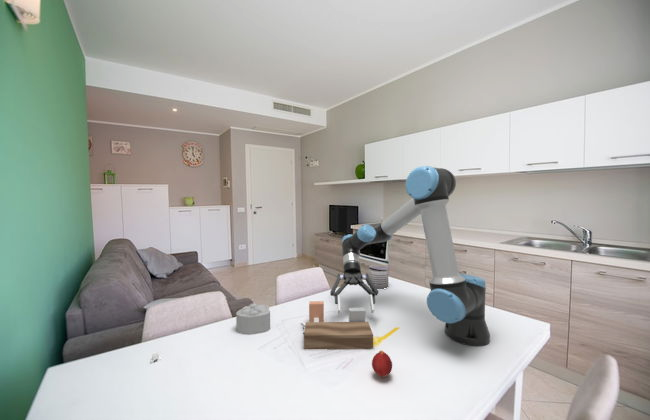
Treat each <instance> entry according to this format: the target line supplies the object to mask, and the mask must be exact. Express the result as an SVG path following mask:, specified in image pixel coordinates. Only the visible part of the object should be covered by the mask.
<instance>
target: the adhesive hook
mask: <svg viewBox="0 0 650 420" xmlns="http://www.w3.org/2000/svg"><path fill="white" fill-rule="evenodd" d="M160 353H161V351H158V352H155V353H153V354H151V358H150V360H149V362H150V363H151V364H154V361H157V363H158V362H160V361H161V359H162V357H161V356H160Z"/></svg>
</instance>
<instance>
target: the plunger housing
mask: <svg viewBox="0 0 650 420" xmlns="http://www.w3.org/2000/svg"><path fill="white" fill-rule="evenodd" d="M304 349H327V350H374V333H373V331H372V329H371V325H370V323H369V321H365V322H349V321H324V322H309V321H306V322H305V324H304V333H303V350H304Z"/></svg>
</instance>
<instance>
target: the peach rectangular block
mask: <svg viewBox="0 0 650 420" xmlns="http://www.w3.org/2000/svg"><path fill="white" fill-rule="evenodd" d="M324 303H325V302H324V301H323V300H322V301H321V300H320V301H314V300H313V301H309V302H308V319H309V320H308V322H325V321H324V317H325V316H324V315H325V314H324V312H325V311H324V309H325V304H324Z"/></svg>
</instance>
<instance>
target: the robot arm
mask: <svg viewBox="0 0 650 420" xmlns="http://www.w3.org/2000/svg"><path fill="white" fill-rule="evenodd" d="M456 184H457V181H456V177H455V175H454V173H452V172H451V171H450V170H448V169H446V168H441V167H440V168H439V167H434V166H430V165H426V166H424V165H423V166H418V167H416V168H414V169H412V171H411V172H410V173H409V174H408V176H406V180H405V191H406V193H407V195H408V196H409V197H410V198H411V199H409V200H408V201H407V202H405V203H404V204H403V205H402V206H401V207H400V208H398V209H397V210H396V211H394V212H393V213H392V214H391V215H390V216H388V217H387V218H386V219H384V220H383V221H382V222H381V223H380V224H378V225H377V226H374V227H373V226H372V225H370V224H363V225H362V226H361V227H359V228H358V229H357V231H355V232H354V233H353V234H352V233H351V234H349V233H348V234H346V235H344V236H343V237H342V238H341V247H342V248H341V249H342V261H343V274H341V273H337V277H336V280H335V282H334V284H333V286H332V287H331V290H330V296H332V297H334V304H335V305H337V312H338V314H340V313H341V301H340V299H341V298H340V297H341V296H340V294H341V293H342V292H343V290H344V289H345V288H346V287H347V286H348V285H349V286H357V285H358V286H359V287H361V288H362V289H363V290H364V291H365V292H366V293H367V294H368V295H369V297H368V299H369V304H370V311H371V312H370V313H371V314H372V313H374V312H375V304H376V296H378V294H379V290H377V288H376V287H375V286H374V284H373V283H372V281H371V280H370V278H369V273H365V274H362V272H361V271H362V270H361V262H360V261H361V260H360V254H359V252H360V250H362V249H363V248H364V247H366V246H367V245H372V244H379V243H386V242H388V241H390V240H391V239H392V237H393V235H394V234H396V233H397V232H399V230H401V229H402V228H404V227H406V225H407V224H409V223H411V222H412V221H413V220H414V219H416V218H418V217H419V216H420V215H421V222H422V227H423V231H424V236H425V242H426V248H427V253H428V258H429V259H428V260H429V263H430V268H431V274H432V277H431V278H430V279H429V281H428V282H429V287H430V291H429V293H428V295H427V297H426V304H427V308H428V310H429V312H430V313H431V314H432V316H434V317H435V318H436V319H437V320H439V321H441V322H442V323H445V325H444V333H445V334H446V336H447V337H448V338H449V339H451V340H453V341H455V342H457V343H460V344H463V345H467V346H472V347H473V346H474V347H475V346H476V347H481V346H486V345H488V344H489V343H490V341H491V340H490V339H491V337H490V336H491V335H490V334H491V333H490V332H489V331H490V330H489V327H488V325H487V321H486V319H485V318H486V289H487V287H486V281H485V279H484V278H482V277H480V276H476V275H471V274H466V273H460V272H459V267H458V262H457V257H456V252H455V247H454V242H453V236H452V232H451V227H450V222H449V217H448V212H447V206H446V205H447V204H448V203H449V201H450V198H449V197H450V196H451V195H452V194H453V193H454V191H455V189H456V186H457V185H456ZM363 279H364V280H363ZM342 280H344V281H343V282H342V284H341V285H340V286H339V284H340V282H341V281H342ZM364 281H365V282H366V283H367V284H366V283H365V282H364ZM338 286H339V287H338ZM369 286H370V287H369ZM336 289H337V290H336Z"/></svg>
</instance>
